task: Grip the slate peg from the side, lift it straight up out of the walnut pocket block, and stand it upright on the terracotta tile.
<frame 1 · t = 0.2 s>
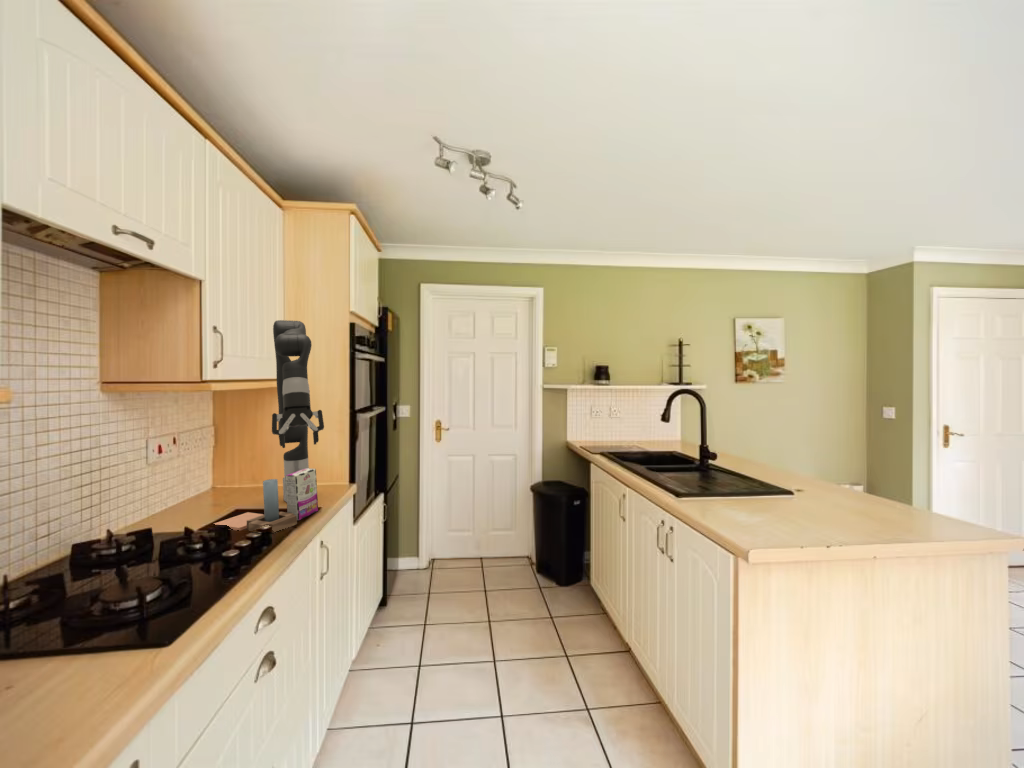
hand: (299, 445, 133), 31 cm above the table, tool tilted 20°, fingers open, 8 cm apart
candy bar box: (303, 516, 164), on the table
slate peg: (271, 503, 152), in the pocket block
terracotta tile: (243, 522, 158), on the table
pocket block: (272, 526, 152), on the table
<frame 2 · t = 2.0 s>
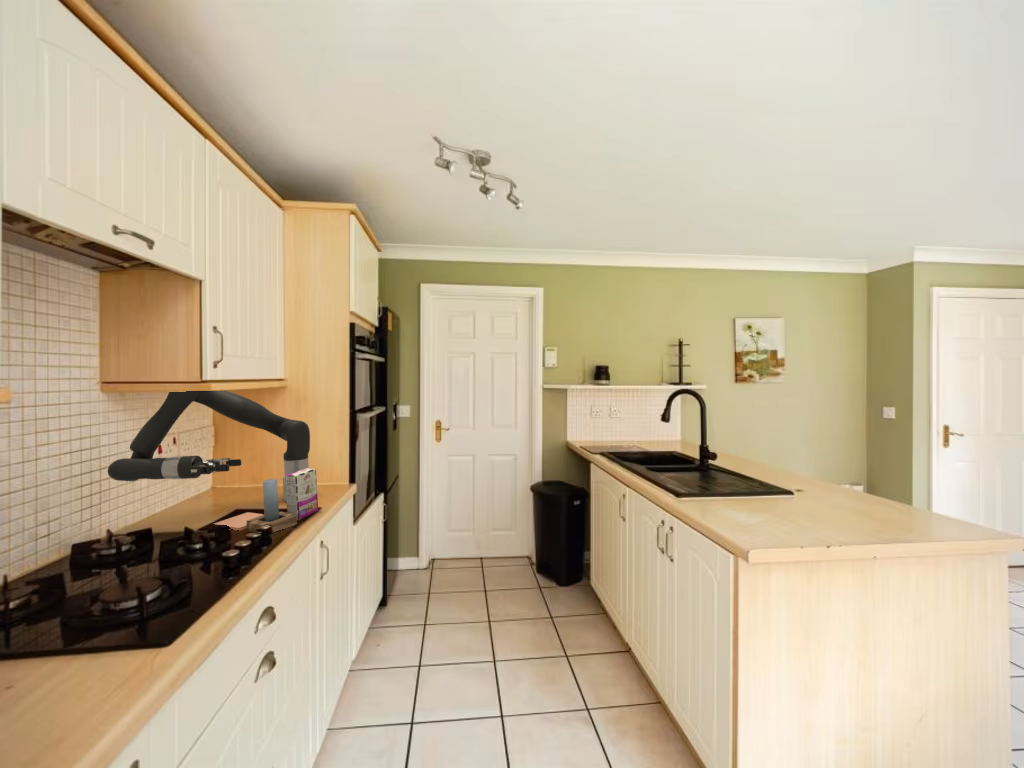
hand: (235, 464, 150), 22 cm above the table, tool horizontal, fingers open, 8 cm apart
nothing on the table moved.
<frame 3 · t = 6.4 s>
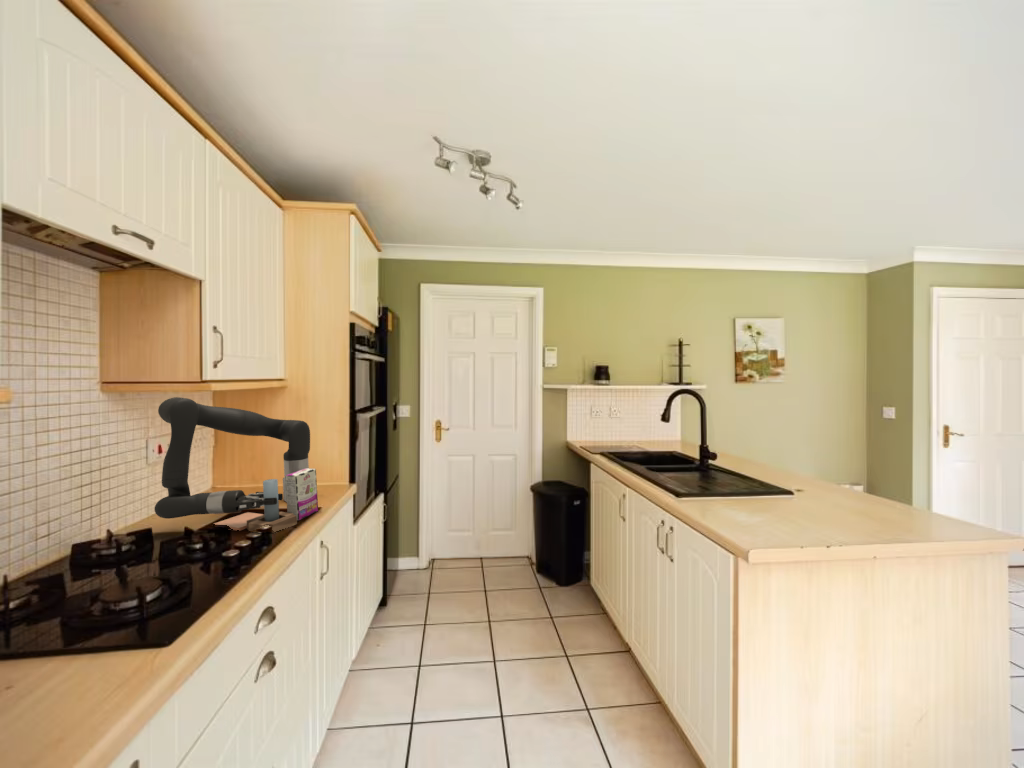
hand: (279, 498, 153), 10 cm above the table, tool horizontal, fingers closed on slate peg, 4 cm apart
slate peg: (271, 503, 152), in the pocket block, touching gripper
everything else where it was.
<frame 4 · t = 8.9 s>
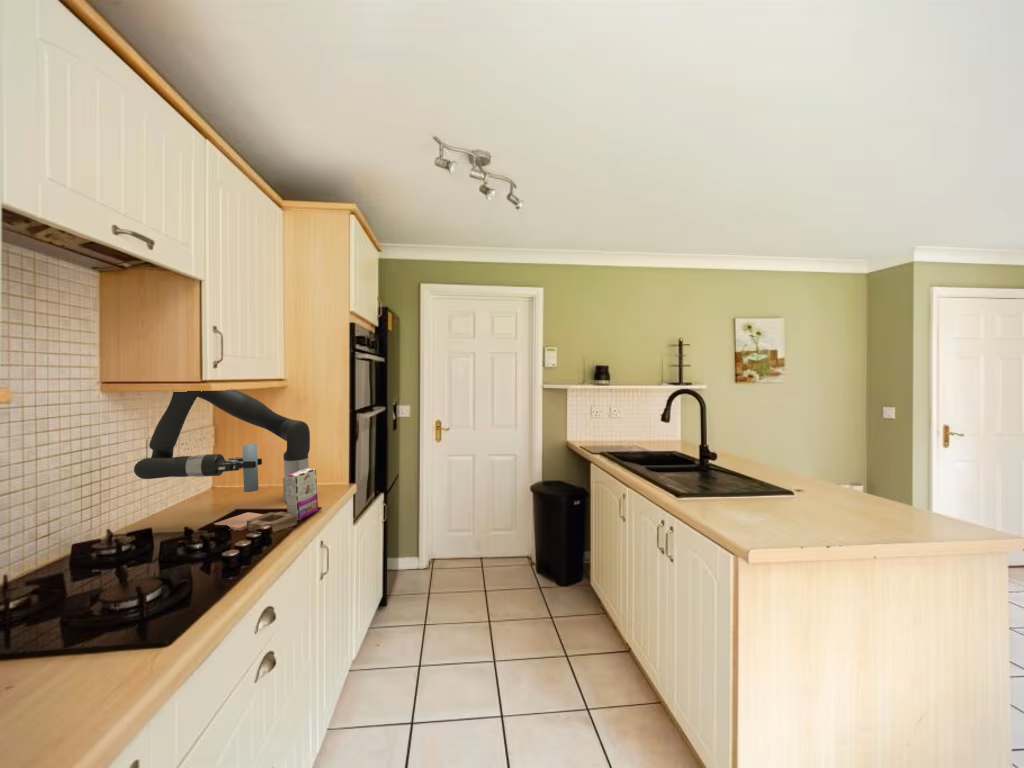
hand: (258, 462, 156), 21 cm above the table, tool horizontal, fingers closed on slate peg, 4 cm apart
slate peg: (250, 467, 155), point 20 cm above the table, touching gripper
everything else where it was.
when the fingers open (12 cm above the table, at t = 11.4 s): slate peg drops 1 cm, resting on terracotta tile.
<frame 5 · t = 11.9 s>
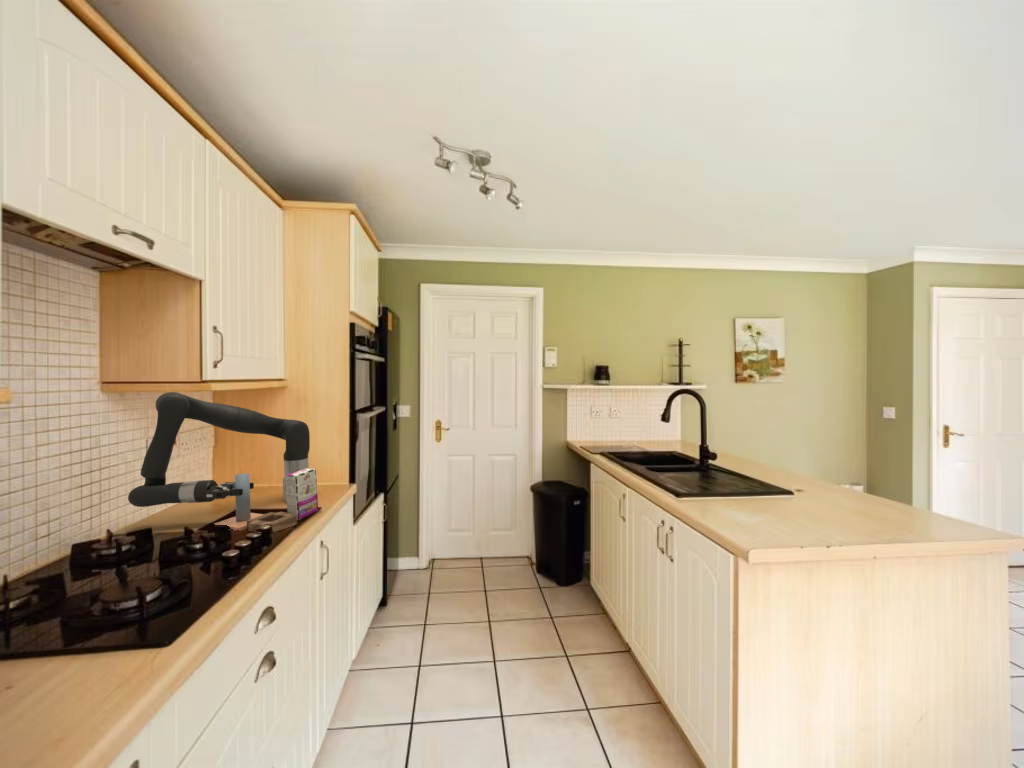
hand: (248, 488, 158), 12 cm above the table, tool horizontal, fingers open, 8 cm apart
slate peg: (242, 497, 157), on the terracotta tile, point 9 cm above the table
everything else where it was.
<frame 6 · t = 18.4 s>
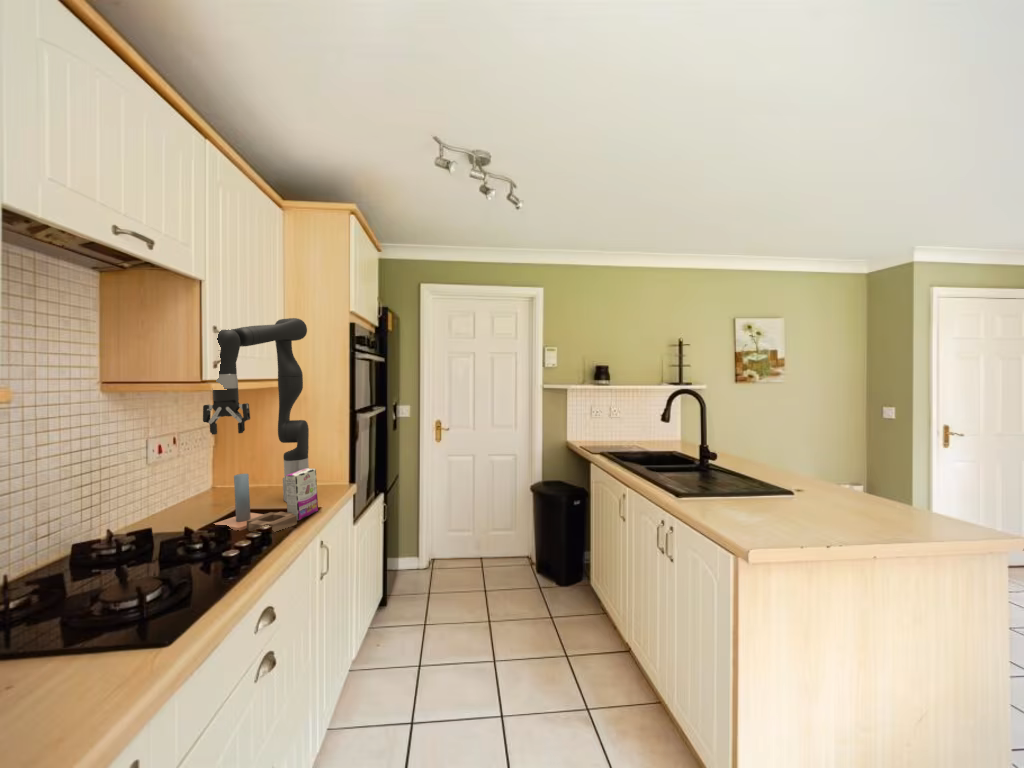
hand: (227, 433, 155), 32 cm above the table, tool pointing down, fingers open, 8 cm apart
nothing on the table moved.
at the end: slate peg inside the target area on the terracotta tile (0.1 cm from its centre), point 9.0 cm above the terracotta tile's base; slate peg tilted 0°; the gripper is holding nothing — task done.
